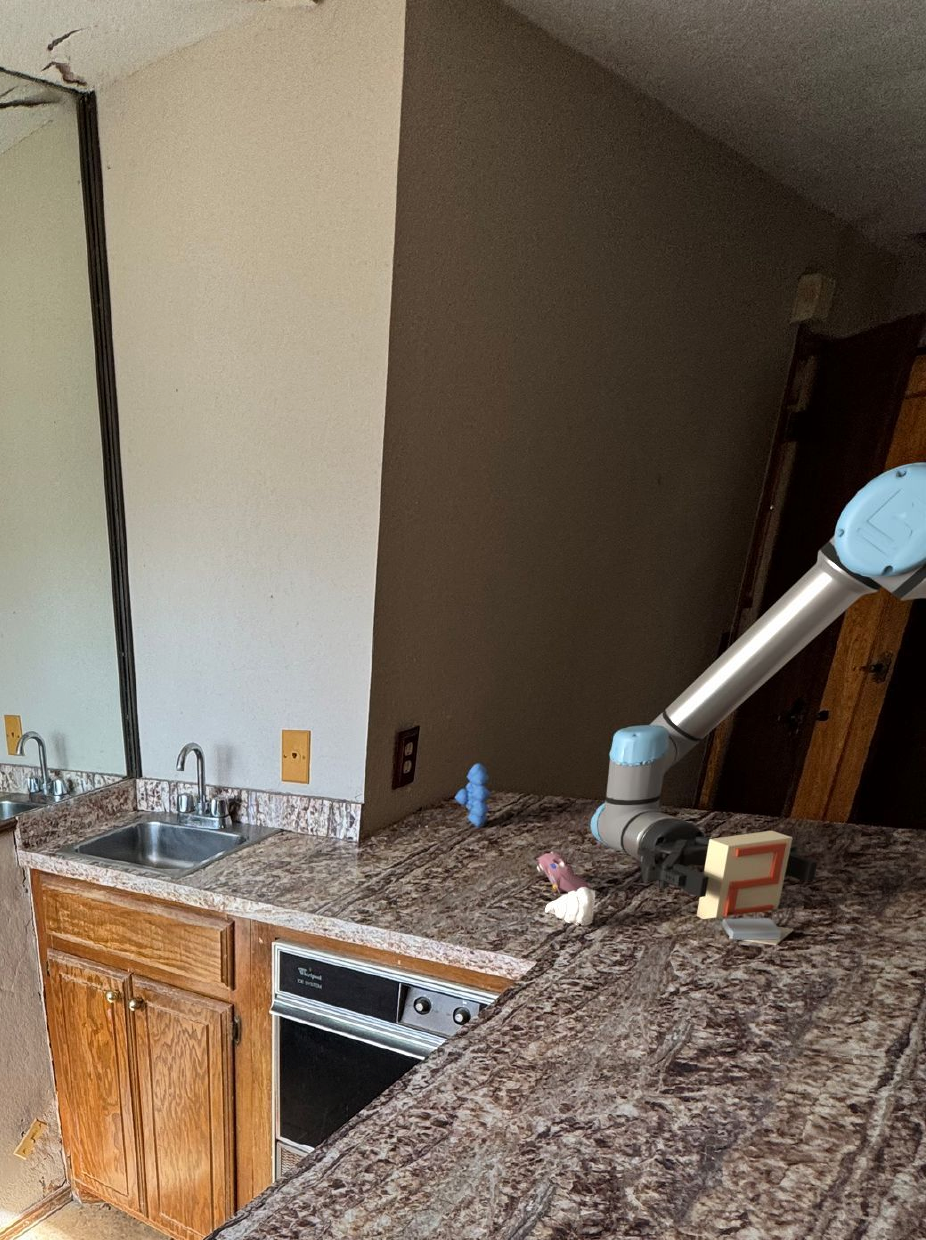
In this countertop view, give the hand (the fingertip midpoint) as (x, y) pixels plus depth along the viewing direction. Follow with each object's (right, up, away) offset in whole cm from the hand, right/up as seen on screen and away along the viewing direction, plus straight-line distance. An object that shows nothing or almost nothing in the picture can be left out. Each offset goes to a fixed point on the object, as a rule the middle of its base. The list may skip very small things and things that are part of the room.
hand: (758, 879), depth 116 cm
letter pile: (-3, -9, -4) cm, 11 cm away
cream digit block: (+1, -4, +5) cm, 7 cm away
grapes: (-9, +23, +65) cm, 69 cm away
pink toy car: (-12, +3, +25) cm, 28 cm away
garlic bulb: (-19, -5, +12) cm, 22 cm away
